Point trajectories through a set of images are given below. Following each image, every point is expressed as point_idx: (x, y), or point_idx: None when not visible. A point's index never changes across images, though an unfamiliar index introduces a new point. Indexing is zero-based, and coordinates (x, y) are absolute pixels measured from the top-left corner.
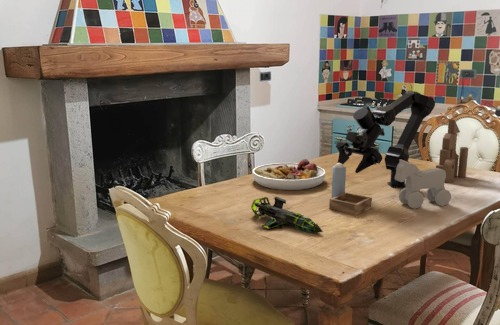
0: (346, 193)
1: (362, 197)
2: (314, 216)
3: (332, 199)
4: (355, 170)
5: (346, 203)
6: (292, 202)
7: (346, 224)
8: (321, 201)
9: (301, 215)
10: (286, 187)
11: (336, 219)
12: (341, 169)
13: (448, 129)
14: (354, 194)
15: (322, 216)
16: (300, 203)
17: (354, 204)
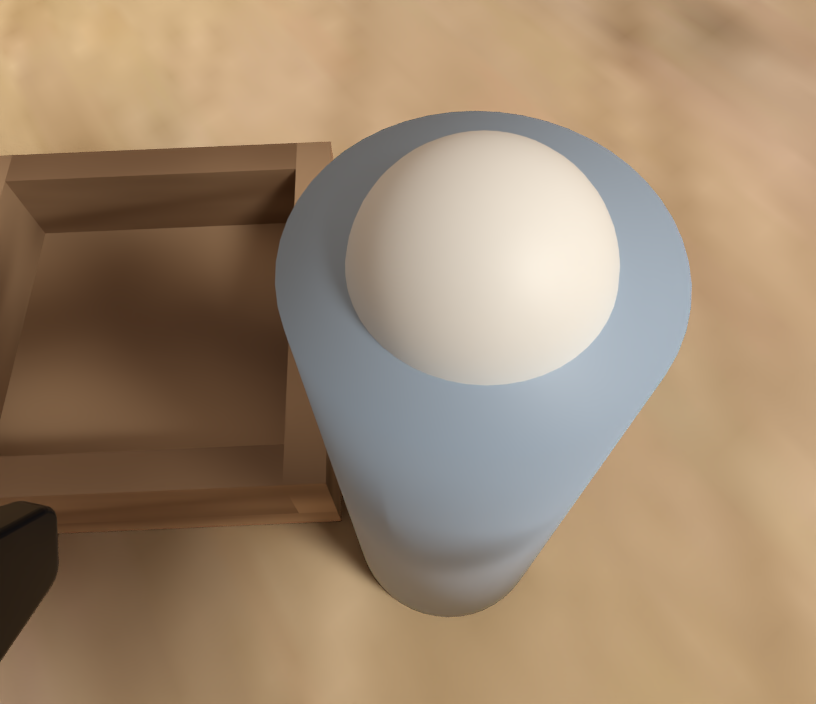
0: (282, 452)
1: (17, 461)
2: (331, 22)
3: (294, 147)
4: (30, 514)
5: (114, 158)
6: (738, 155)
7: (37, 32)
8: None
9: None
10: None
11: (150, 63)
12: (326, 188)
13: None
14: (158, 484)
15: (279, 52)
16: (661, 177)
17: (10, 155)
